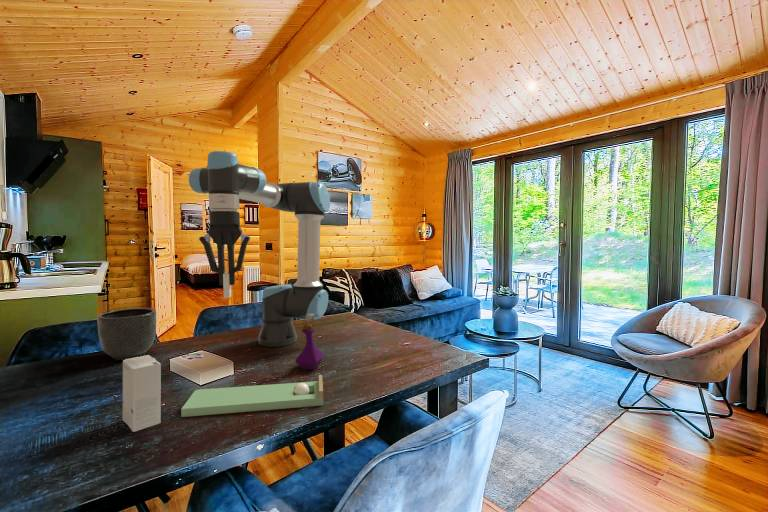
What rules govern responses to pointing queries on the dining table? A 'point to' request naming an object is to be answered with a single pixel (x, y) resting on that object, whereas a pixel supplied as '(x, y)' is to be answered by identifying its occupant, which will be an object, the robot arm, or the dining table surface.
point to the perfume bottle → (309, 349)
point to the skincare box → (141, 392)
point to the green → (251, 398)
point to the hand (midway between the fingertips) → (227, 296)
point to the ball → (301, 389)
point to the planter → (127, 332)
